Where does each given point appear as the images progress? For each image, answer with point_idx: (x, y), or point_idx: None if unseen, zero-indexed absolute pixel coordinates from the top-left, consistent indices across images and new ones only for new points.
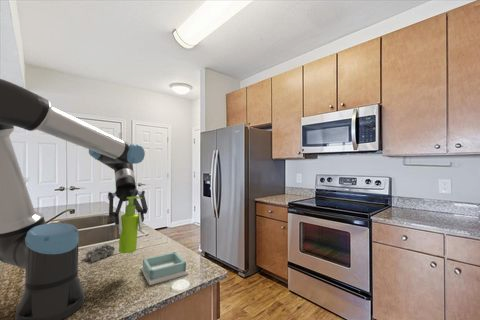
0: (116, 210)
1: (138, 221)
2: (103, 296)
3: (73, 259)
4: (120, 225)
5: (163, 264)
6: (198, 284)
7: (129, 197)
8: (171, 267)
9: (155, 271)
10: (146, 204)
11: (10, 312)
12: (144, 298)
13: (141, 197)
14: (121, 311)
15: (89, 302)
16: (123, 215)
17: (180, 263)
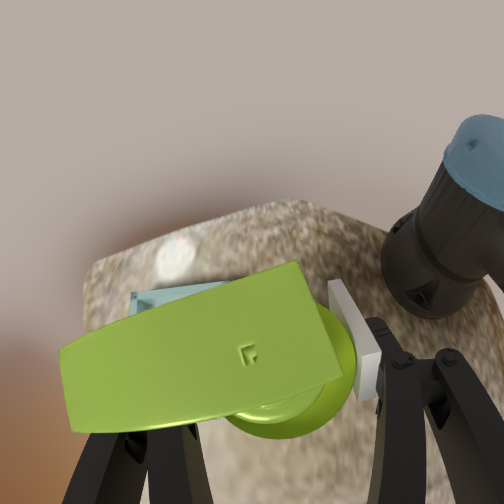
0: (414, 384)
1: None
2: (346, 276)
3: (433, 182)
4: (343, 294)
5: None
6: (145, 242)
7: (275, 296)
8: (171, 289)
9: (216, 283)
10: (89, 440)
11: (483, 283)
12: (258, 234)
13: (64, 367)
14: (302, 209)
15: (370, 263)
16: (337, 346)
17: (144, 292)
